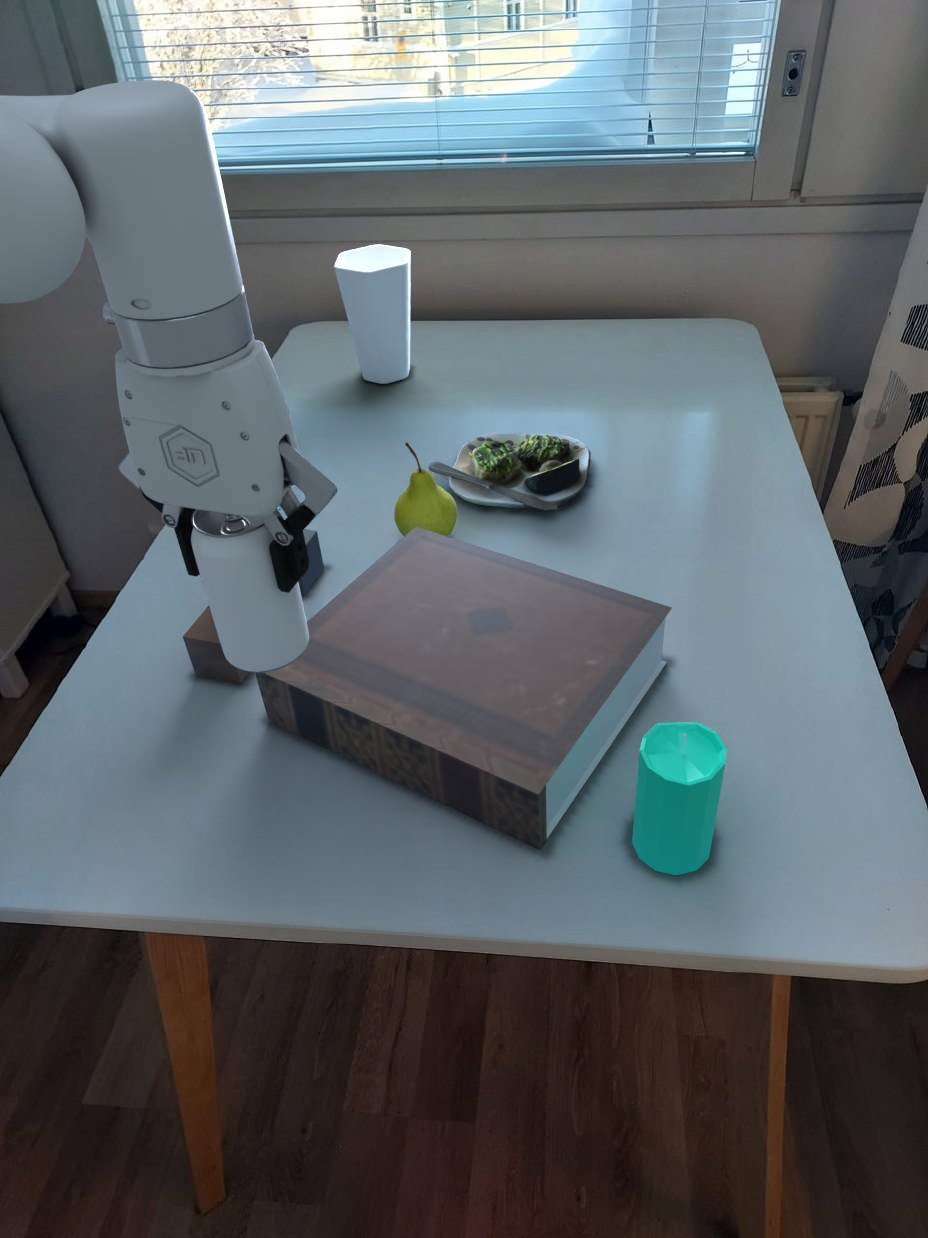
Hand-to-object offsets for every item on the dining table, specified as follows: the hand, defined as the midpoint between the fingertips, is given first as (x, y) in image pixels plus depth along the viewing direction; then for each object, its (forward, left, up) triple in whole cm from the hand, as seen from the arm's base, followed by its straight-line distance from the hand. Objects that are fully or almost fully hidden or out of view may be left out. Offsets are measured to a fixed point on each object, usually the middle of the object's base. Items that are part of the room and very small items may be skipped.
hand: (248, 570), depth 65 cm
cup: (-22, +75, -22) cm, 81 cm away
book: (+11, +13, -22) cm, 28 cm away
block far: (-13, +25, -21) cm, 35 cm away
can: (0, 0, -7) cm, 7 cm away
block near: (-13, +11, -21) cm, 27 cm away
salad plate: (+6, +50, -22) cm, 55 cm away
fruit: (-1, +35, -22) cm, 41 cm away
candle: (+31, +1, -22) cm, 38 cm away
